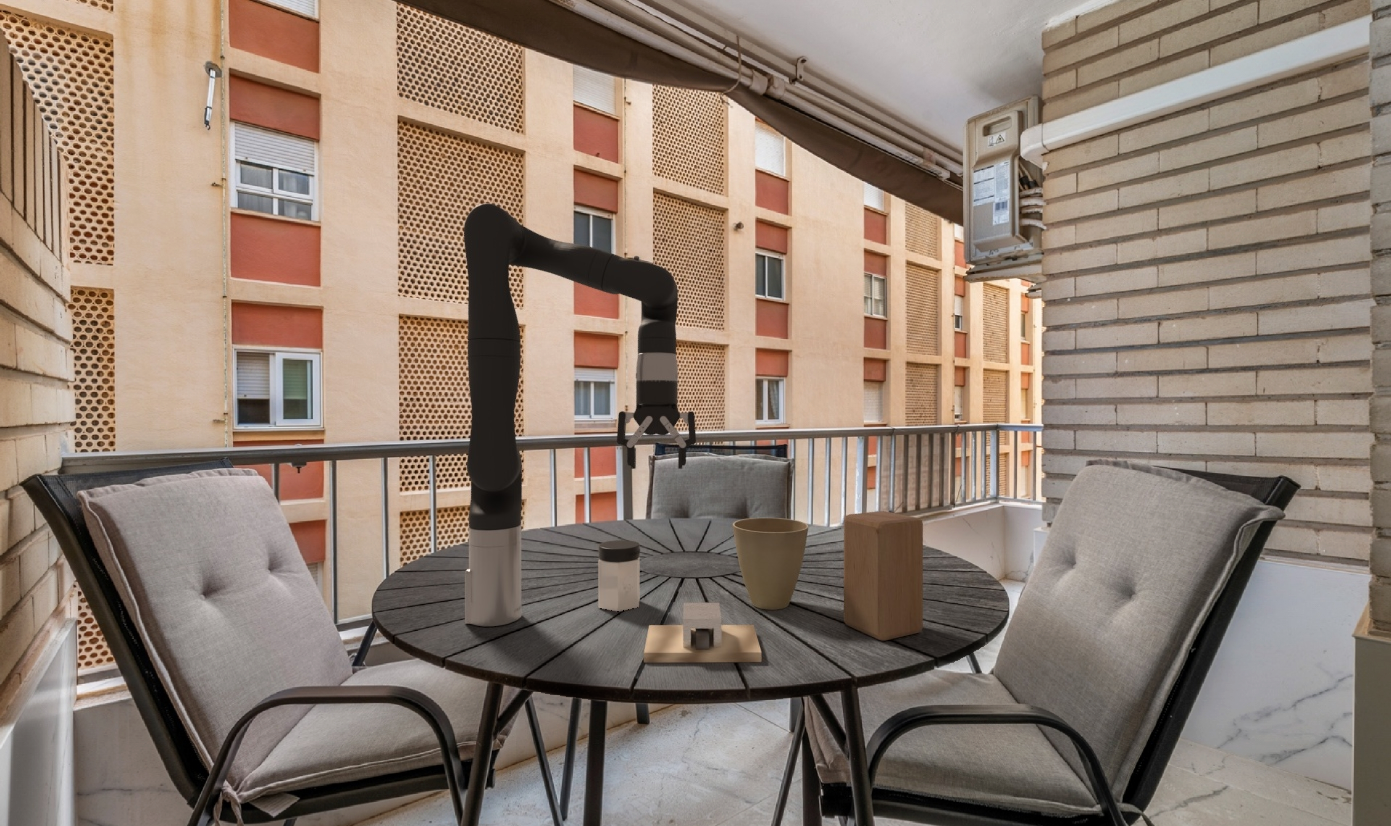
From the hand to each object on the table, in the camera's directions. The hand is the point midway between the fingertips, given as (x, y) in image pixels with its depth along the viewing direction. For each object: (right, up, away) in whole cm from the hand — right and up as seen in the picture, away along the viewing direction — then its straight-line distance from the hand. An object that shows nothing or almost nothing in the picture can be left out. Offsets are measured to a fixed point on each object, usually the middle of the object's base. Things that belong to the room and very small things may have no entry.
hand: (656, 468), depth 112 cm
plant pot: (+22, -28, +10) cm, 37 cm away
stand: (+8, -28, -12) cm, 31 cm away
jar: (-8, -28, +10) cm, 31 cm away
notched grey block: (+8, -27, -12) cm, 30 cm away
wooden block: (+40, -28, -3) cm, 49 cm away
